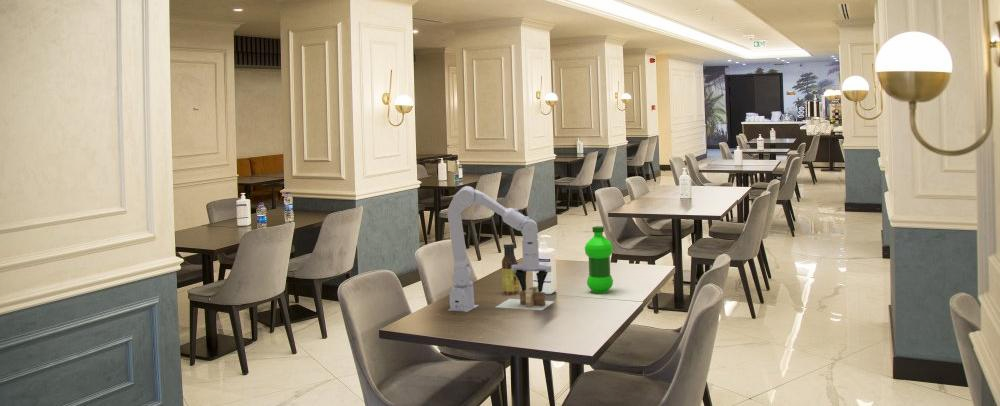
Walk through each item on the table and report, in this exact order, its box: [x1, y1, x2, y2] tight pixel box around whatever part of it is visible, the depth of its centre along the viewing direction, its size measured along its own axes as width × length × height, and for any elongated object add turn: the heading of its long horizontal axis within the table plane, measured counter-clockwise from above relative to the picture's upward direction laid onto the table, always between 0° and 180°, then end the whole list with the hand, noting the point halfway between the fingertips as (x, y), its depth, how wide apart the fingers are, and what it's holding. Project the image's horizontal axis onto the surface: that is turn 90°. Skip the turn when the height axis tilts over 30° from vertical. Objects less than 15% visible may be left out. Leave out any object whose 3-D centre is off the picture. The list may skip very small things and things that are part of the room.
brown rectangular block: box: [519, 290, 546, 306], centre depth 271 cm, size 2×9×4 cm, turn 66°
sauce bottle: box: [501, 242, 520, 296], centre depth 290 cm, size 7×6×20 cm
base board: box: [495, 298, 556, 311], centre depth 272 cm, size 13×18×1 cm
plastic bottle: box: [584, 225, 614, 294], centre depth 287 cm, size 10×10×25 cm
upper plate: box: [525, 285, 538, 308], centre depth 271 cm, size 8×2×6 cm, turn 155°
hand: (532, 291), depth 270 cm, fingers open, 6 cm apart
